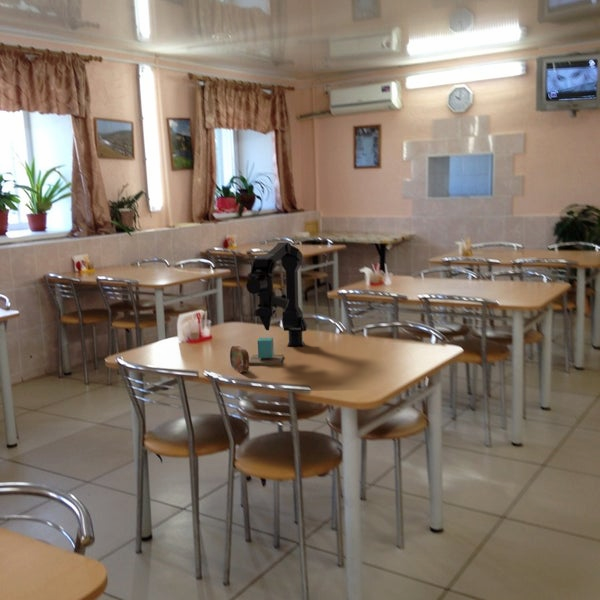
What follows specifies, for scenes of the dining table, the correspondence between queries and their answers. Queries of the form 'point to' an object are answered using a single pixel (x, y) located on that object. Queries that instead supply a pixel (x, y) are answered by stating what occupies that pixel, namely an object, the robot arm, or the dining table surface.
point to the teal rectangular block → (265, 348)
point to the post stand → (266, 360)
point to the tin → (239, 359)
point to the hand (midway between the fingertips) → (267, 330)
